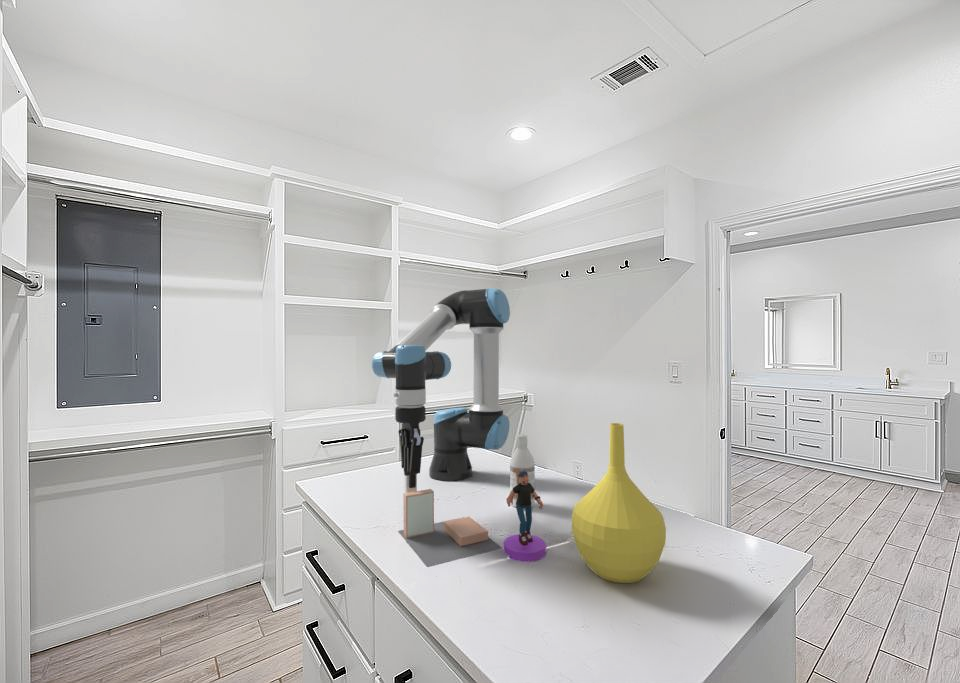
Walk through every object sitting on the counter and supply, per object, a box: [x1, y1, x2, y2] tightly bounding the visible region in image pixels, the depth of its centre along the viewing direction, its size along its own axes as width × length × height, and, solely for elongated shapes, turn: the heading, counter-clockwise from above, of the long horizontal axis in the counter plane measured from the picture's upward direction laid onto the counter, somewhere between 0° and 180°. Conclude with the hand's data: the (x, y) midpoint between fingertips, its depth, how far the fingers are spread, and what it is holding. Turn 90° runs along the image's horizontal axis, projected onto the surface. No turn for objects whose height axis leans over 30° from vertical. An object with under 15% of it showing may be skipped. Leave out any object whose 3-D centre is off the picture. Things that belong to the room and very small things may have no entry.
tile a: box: [443, 516, 489, 546], centre depth 107 cm, size 7×2×10 cm
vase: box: [571, 422, 667, 584], centre depth 91 cm, size 18×18×30 cm
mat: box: [397, 516, 503, 568], centre depth 105 cm, size 18×20×1 cm
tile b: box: [402, 488, 435, 538], centre depth 108 cm, size 7×2×10 cm, turn 118°
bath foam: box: [509, 433, 536, 510], centre depth 128 cm, size 7×7×20 cm
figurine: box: [503, 471, 547, 563], centre depth 100 cm, size 9×9×18 cm
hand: (410, 499), depth 113 cm, fingers closed
